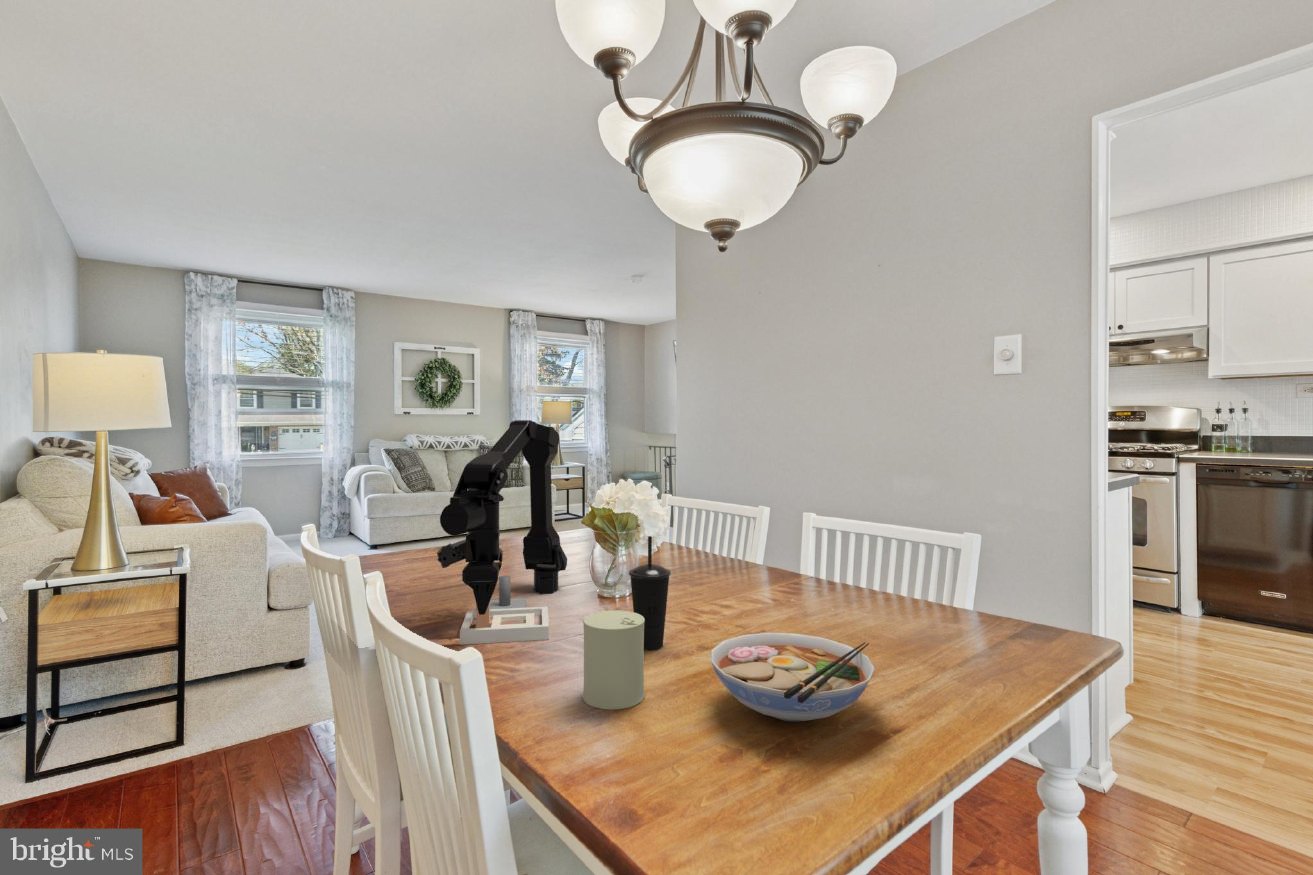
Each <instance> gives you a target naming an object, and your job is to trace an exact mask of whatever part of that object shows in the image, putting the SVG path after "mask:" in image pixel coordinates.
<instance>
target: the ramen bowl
mask: <svg viewBox="0 0 1313 875" xmlns="http://www.w3.org/2000/svg"><path fill="white" fill-rule="evenodd" d="M869 644H870V643H869V642H868V643H866V641H865V642H863V643H861V644H860V645H858V646H857V647H855V648H854V647H852V646H850V645H847V644H845V643H841V642H839V641H835V640H832V639H829V638H826V637H821V636H814V635H807V634H801V633H793V632H792V633H790V632H789V633H787V632H760V633H759V632H758V633H750V634H742V635H738V636H736V637H732V638H728V639H724V640H722V641H720V643H718V644H717V645H715V646H714V648H712V649H711V651H710V664H711V665H712V669H713V671H714V673H715V674H716V676H717V677H718V679H719V680H720V682H721V684H722V685H723V686H724V687H725V688H726V689H727V690H728V691H729V693H730V694H731V695H732V696H734V698H735V699H736V700H737V701H738V702H740V703H741V704H742V705H744V706H746V707H747V708H749V709H752V710H754V711H755V712H758V713H760V714H762V715H764V716H768V717H772V718H774V719H777V720H781V721H784V722H785V721H786V722H806V721H812V720H819V719H825V718H829V717H831V716H833V715H836V714H838V713H840V712H842V711H844V710H846V709H848V708H850V707H851V706H852V705H853V704H855V702H857V701H858V699H859V698H860V697H861V695H863V692H865V690H866V688H867V687H868V685H869V682H870V681H871V679H872V676H873V674H874V672H875V670H876V667H875V666H874V664H873V662H872V661H871V659H870V657H869V656H868V655H866V654H864V653H863V652H862V651H864V649H865V648H866V647H867V646H869Z"/></svg>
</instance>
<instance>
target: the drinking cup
mask: <svg viewBox="0 0 1313 875" xmlns="http://www.w3.org/2000/svg"><path fill="white" fill-rule="evenodd" d="M652 549H653V536H652V535H651V536H649V535H647V563H646V564H640V565H638V566H636V567H633V568H631V569H630V570H629V571H628V576H629V577H630V584H631V585H630V586H631V598H632V609H633V611H632V612H634V613H637V614H640V615H642V616H643V617H644V619H645V622H644V651H656V650H660V649H661V648H663V647H664V646H663V645H664V637H665V627H666V615H667V606H668V604H667V602H668V595H669V594H668V593H669V581H670V576H671V574H672V572H671V570H670V569H669V568H665V567H664V566H661V565H659V564H656V563H655V564H653V561H652V560H653V558H652V557H653V556H652V555H653V553H652V552H653V551H652Z"/></svg>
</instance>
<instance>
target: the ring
mask: <svg viewBox="0 0 1313 875" xmlns="http://www.w3.org/2000/svg"><path fill="white" fill-rule="evenodd" d="M475 607H476V608H475V610H476V618H475V628H490V627H508V626H527V625H535V615H534V613H527V614H507V615H494V616H493V618H490V602H489V605H488V608H487V610H486V613H485V614H484V615H480V614H479V612H478V608H477V604H476V603H475ZM516 621H525V623H507V624H502V622H516Z"/></svg>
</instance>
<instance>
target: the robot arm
mask: <svg viewBox="0 0 1313 875" xmlns="http://www.w3.org/2000/svg"><path fill="white" fill-rule="evenodd" d="M559 444H560V435H559V432H558V431H557V430H556V429H555V428H554V427H553V426H546V425H543V424H541V423H537V422H536V421H532V420H530V419H527V420H526V419H523V420H520V419H518V420H517V419H515V420H514V421H511V422H510V423H509V426H508V429H506V431H505V432H504V433H503V434H502V435H501V437H500V438H498V440H497V441H496V443H495V444H493V446H492V447H491V448H490V449H489V451H487V452H486V453H485V454H482V455H479V456H476V457H474V458H472V459H471V460H470V461H469V462H468V463H466V465H465V466H464V468H463V470H462V472H461V474H460V477H459V480H458V482H457V484H456V488H455V490H454V493H453V494H452V495H453V496H452V497H450V498H449V504H447V505H446V506H445V507H444V508H443V509H442V511H441V514H440V515H439V523H440V527H441V528H442V530H443V531H444V532H445V533H446V534H448V535H450V536H453V537H455V536H460V535H464V534H466V535H465V539H463V540H460V541H456V542H455V543H454V542H453V543H449V544H447V545H442V547H441V548H440V549H438V550H437V551H436V555H437V561H438V562H439V563H440V565H441V568H442V569H444V568H448V567H450V566H451V565H453V564H456V563H459V562H461V561H463V560H465V563H467V564H466V565H465V566H464V567H463V569H462V570H461V575H462V576H461V581H462V583H464V584H465V585H466V586H468V587H470V588H471V589H472V592H473V595H474V599H475V605H476V604H477V608H478V612H479V614H480V615H484V614H485V613H486V610H487V608H488V605H489V602H490V600H492V597H493V594H494V591H495V589H496V587H497V584H498V583H499V577H500V576H499V574H500V570H501V569H502V564H503V560H504V557H503V556H504V554H503V553H504V552H503V549H502V548H500V535H501V530H500V502H503V501H504V499H505V498H504V496H503V495H502V494H500V492H501V490H502V489H503V487H504V485H505V484H506V482H507V480H508V478H509V473H508V469H509V467H510V465H511V464H513V462H514V460H515V459H516V458H517V456H518V455H519V454H520V453H521V454H522V456H523V458H524V459H525V461H526V462H527V464H528V466H529V491H530V529H529V531H528V533H527V534H526V535H525V536H524V537H523V540H522V544H523V545H522V546H523V549H522V556H523V562H524V563H523V564H524V567H525V570H533V592H534V593H538V594H539V595H553V594H555V593H556V592H557V591H559V572H561V571H566V568H567V566H568V558H567V556H566V554H565V551H564V550H563V547H562V546H561V538H560V535H559V534H558V532H557V531H556V528H555V527H554V526H553V497H552V495H553V494H552V464H553V462H554V459H555V458H556V456H557V454H558V452H559V451H558V450H559Z"/></svg>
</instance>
